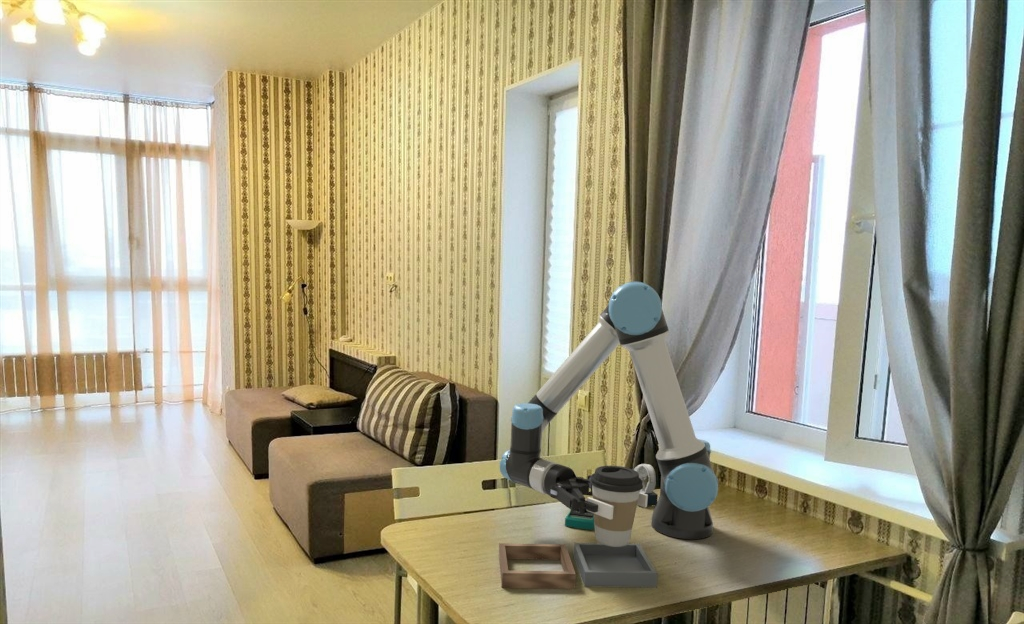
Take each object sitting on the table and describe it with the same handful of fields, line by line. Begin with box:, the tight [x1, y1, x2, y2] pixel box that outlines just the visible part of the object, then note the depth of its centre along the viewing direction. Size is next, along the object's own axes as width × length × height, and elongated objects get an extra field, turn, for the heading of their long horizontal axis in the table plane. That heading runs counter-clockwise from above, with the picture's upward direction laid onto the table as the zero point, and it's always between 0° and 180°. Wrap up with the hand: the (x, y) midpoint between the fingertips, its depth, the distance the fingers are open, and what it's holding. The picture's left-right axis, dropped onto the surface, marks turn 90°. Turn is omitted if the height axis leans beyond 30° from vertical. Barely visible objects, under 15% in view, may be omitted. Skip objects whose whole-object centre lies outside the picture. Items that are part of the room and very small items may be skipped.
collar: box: [498, 542, 577, 589], centre depth 145 cm, size 15×15×3 cm
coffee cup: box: [590, 465, 643, 547], centre depth 146 cm, size 11×11×15 cm
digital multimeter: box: [564, 508, 595, 531], centre depth 178 cm, size 7×15×3 cm, turn 165°
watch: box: [633, 463, 659, 508], centre depth 191 cm, size 6×8×11 cm
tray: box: [572, 542, 658, 588], centre depth 147 cm, size 15×15×3 cm
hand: (629, 506), depth 144 cm, fingers closed on coffee cup, 11 cm apart
